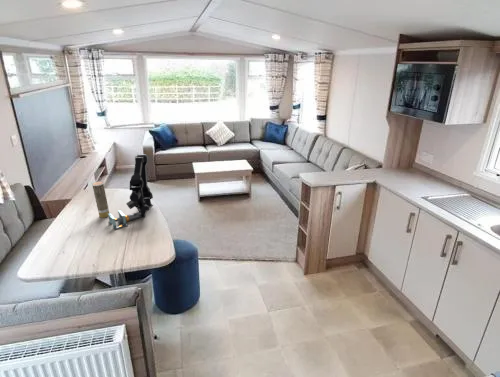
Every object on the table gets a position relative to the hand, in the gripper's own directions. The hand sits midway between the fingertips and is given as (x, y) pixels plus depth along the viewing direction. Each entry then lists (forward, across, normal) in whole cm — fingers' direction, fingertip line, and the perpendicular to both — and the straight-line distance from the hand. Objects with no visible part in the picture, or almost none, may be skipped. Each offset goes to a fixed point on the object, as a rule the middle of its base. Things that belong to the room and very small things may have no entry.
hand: (141, 215), depth 218 cm
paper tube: (+1, -18, -20) cm, 27 cm away
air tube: (+1, 0, -7) cm, 7 cm away
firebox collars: (+1, 0, -16) cm, 16 cm away
